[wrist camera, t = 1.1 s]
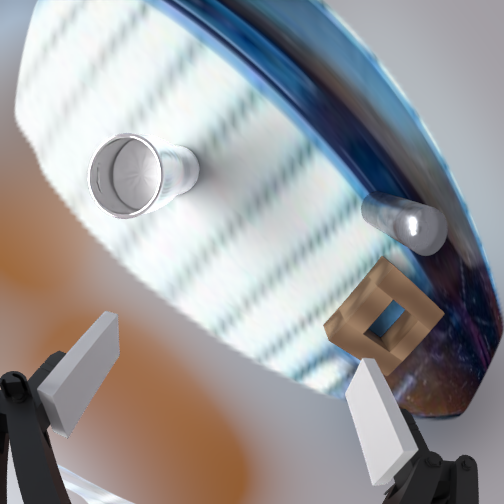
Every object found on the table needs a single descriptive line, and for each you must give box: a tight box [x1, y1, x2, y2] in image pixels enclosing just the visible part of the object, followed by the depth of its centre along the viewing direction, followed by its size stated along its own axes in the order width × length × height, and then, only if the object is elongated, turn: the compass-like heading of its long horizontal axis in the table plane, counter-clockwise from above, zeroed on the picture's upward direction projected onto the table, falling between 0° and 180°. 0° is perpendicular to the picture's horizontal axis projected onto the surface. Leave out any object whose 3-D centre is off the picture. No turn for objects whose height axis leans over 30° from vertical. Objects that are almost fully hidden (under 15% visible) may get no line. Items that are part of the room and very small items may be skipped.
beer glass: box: [88, 133, 199, 219], centre depth 28 cm, size 7×7×15 cm
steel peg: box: [361, 192, 447, 256], centre depth 29 cm, size 4×4×13 cm
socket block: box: [323, 256, 445, 376], centre depth 38 cm, size 12×12×4 cm
